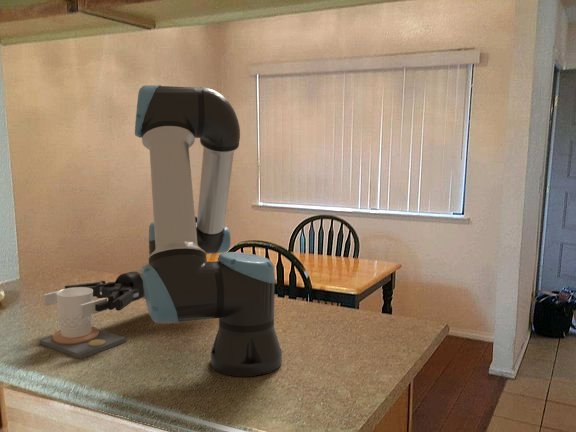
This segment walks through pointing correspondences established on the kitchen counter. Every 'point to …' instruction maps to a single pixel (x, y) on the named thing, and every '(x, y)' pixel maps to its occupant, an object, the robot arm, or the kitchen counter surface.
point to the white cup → (74, 311)
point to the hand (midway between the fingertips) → (62, 305)
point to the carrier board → (83, 343)
